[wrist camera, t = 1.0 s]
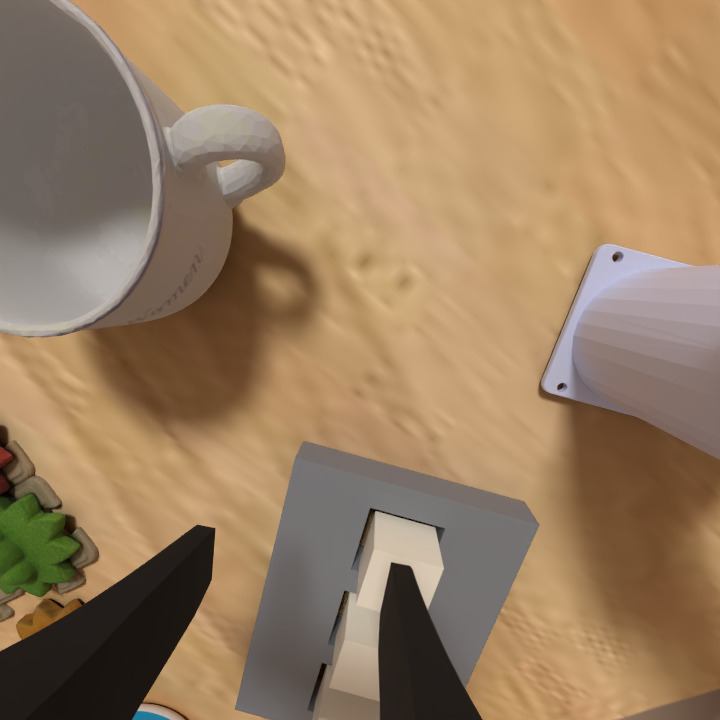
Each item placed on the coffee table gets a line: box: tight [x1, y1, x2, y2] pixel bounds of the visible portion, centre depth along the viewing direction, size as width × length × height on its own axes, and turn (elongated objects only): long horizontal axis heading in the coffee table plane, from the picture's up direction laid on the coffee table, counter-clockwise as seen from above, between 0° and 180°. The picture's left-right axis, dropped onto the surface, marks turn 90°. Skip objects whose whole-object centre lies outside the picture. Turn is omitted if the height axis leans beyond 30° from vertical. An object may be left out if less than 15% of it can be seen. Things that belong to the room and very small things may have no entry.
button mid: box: [329, 592, 380, 702], centre depth 20 cm, size 4×4×3 cm
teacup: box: [0, 0, 285, 337], centre depth 14 cm, size 14×11×8 cm
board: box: [235, 441, 539, 720], centre depth 22 cm, size 14×20×2 cm
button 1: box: [312, 664, 380, 720], centre depth 21 cm, size 4×4×3 cm
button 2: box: [356, 511, 444, 612], centre depth 19 cm, size 4×4×3 cm
